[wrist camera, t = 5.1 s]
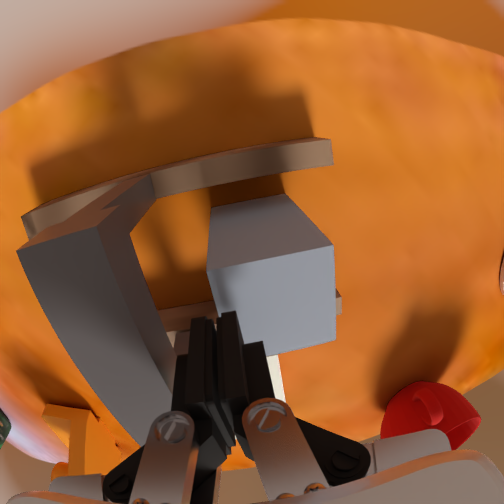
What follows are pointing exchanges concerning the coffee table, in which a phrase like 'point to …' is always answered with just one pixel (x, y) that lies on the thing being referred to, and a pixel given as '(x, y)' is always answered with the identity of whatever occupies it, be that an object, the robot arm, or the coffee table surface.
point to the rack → (191, 178)
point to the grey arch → (107, 305)
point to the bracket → (82, 442)
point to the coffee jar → (4, 428)
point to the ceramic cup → (430, 413)
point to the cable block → (273, 273)
